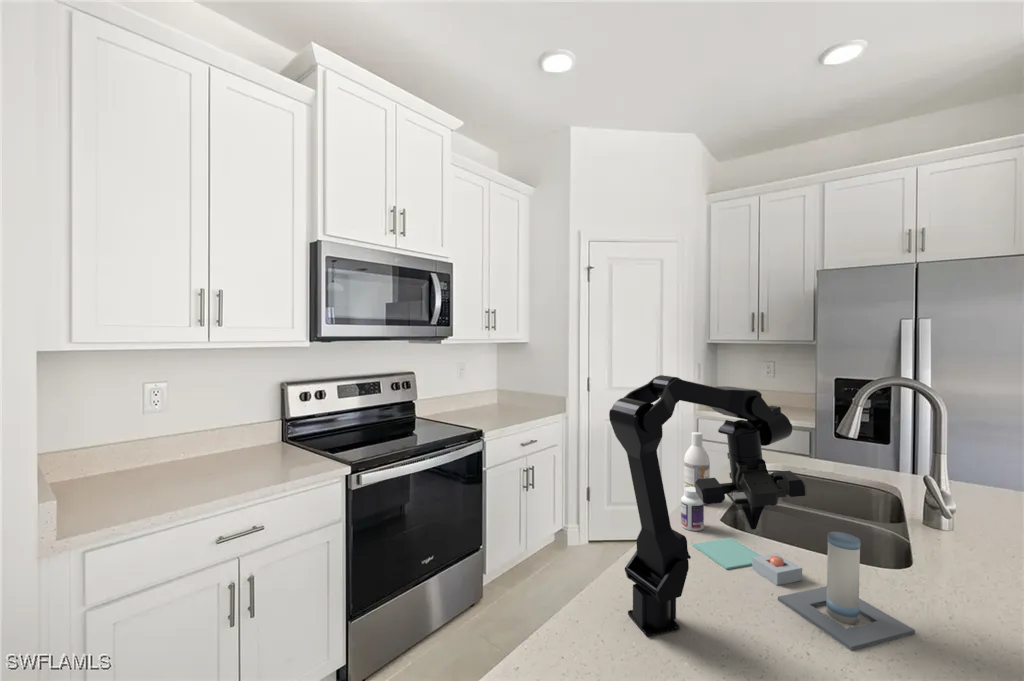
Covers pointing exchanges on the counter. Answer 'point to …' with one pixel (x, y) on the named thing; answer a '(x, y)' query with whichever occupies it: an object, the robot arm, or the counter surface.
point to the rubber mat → (727, 552)
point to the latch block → (777, 569)
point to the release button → (776, 561)
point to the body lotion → (696, 462)
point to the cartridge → (843, 577)
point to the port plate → (849, 637)
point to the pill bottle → (692, 510)
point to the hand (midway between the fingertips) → (752, 528)
